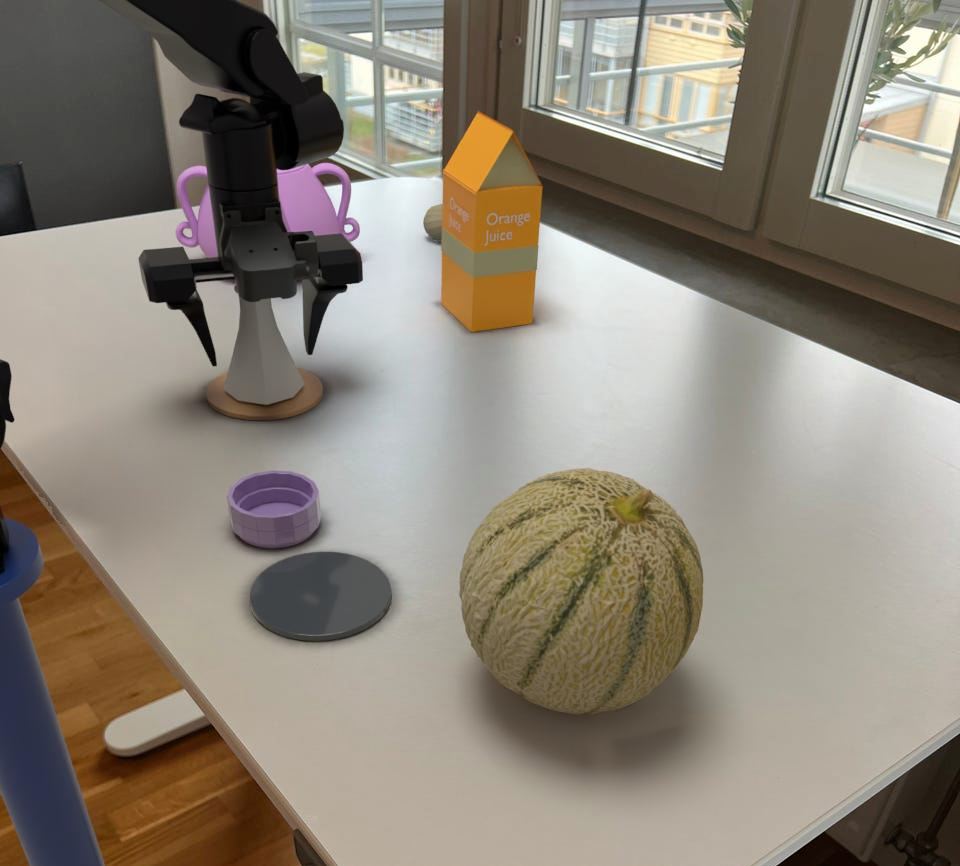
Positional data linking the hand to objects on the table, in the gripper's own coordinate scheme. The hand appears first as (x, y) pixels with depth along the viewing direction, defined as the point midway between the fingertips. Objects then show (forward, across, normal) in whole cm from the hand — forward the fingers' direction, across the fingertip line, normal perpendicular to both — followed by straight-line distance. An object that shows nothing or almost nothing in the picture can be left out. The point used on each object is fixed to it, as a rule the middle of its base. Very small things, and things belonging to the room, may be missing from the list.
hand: (262, 359), depth 93 cm
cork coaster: (+4, 0, 0) cm, 4 cm away
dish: (+4, -4, -23) cm, 24 cm away
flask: (+3, 0, 0) cm, 3 cm away
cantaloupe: (+4, +10, -47) cm, 48 cm away
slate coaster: (+4, -3, -33) cm, 33 cm away
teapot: (+4, +8, +33) cm, 34 cm away
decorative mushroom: (+4, +34, +34) cm, 48 cm away
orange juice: (+4, +28, +13) cm, 31 cm away
